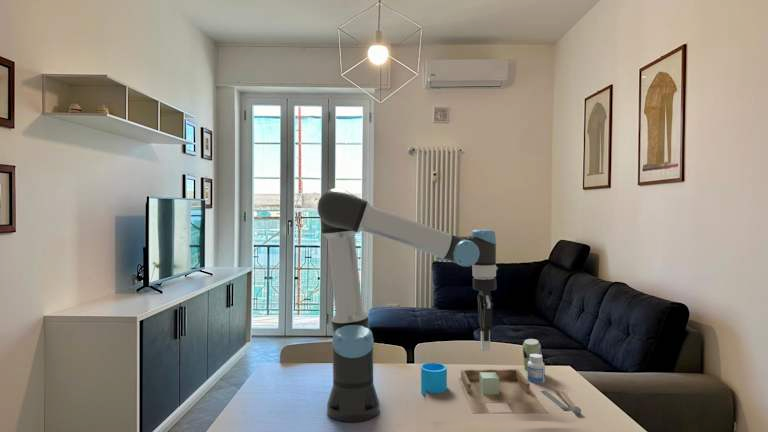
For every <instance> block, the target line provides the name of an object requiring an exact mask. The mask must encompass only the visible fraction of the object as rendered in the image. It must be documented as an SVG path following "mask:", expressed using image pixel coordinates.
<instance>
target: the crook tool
mask: <svg viewBox="0 0 768 432" xmlns="http://www.w3.org/2000/svg"><path fill="white" fill-rule="evenodd" d="M540 393H541V394H543V395H544V396H545V397H546V398H548V399H549V400H550V401H552V402H553V403H554V404H555V405H557V406H558V407H559V408H560V409H561V410H563V412H568V411H571V412H572V413H573V414H574V415H575V416H581V415H582V409H581V408H580V406H576V407H568V406H567V405H566V404H565V403H562V402H561V401H560V400H558V399H557V398H556V397H555V396H553V395H552V394H551V393H550V392H549V391H548V390H540Z"/></svg>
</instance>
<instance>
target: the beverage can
mask: <svg viewBox="0 0 768 432" xmlns="http://www.w3.org/2000/svg"><path fill="white" fill-rule="evenodd" d="M522 352H523V353H522V354H523V367H524V370H525V371H526V372H528V361H530V359H529V358H530V354H540V355H542V346H541V343H540V342H539V340H538V339H535V338H527V339H525V340H523V344H522Z"/></svg>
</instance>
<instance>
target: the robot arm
mask: <svg viewBox="0 0 768 432" xmlns="http://www.w3.org/2000/svg"><path fill="white" fill-rule="evenodd" d="M317 213H318V216H319V219H320V226H321V235H322V236H323V237H325V238H326V239H327V247H328V255H329V264H330V275H331V283H332V291H333V292H332V293H333V301H334V310H335V314H334V315H333V317H332V318H331V326H332V340H331V345H332V386H331V391H330V395H329V397H328V400H327V404H326V405H327V406H326V407H327V409H326V413H327V415H328V416H329V417H330V418H332V419H333V420H336V421H339V422H345V423H356V422H357V423H358V422H359V423H360V422H365V421H368V420H372V419H373V418H375V417H376V416H377V415H378V414H379V413H380V399H379V397H378V394H377V390H376V387H375V384H374V345H375V342H374V341H375V339H374V336H373V335H374V334H373V332H372V330H371V329H370V320H369V314H368V313H367V312H366V311H364V309H363V302H362V301H363V299H362V292H361V291H362V290H361V281H360V274H359V273H360V272H359V264H358V254H357V247H356V234H357V233H360V232H362V231H363V232H365V233H369V234H370V235H374V236H378V237H380V238H383V239H386V240H389V241H391V242H395V243H396V244H401V245H403V246H406V247H409V248H412V249H414V250H418V251H420V252H423V253H427V254H429V255H431V256H435V258H436V259H437V260H438V261H445V262H447V261H449V262H452V263H455V264H457V265H459V266H461V267H471V269H472V277H473V278H472V289H473V290H474V291H478V294H477V296H476V298H477V309H478V310H477V311H478V326H479V332H480V350H481V351H484V352H486V351H491V331H492V329H493V328H492V326H493V325H492V324H493V308H494V302H493V296H492V295H491V292H492V291H496V290H497V278H496V277H497V271H498V268H499V267H498V266H497V237H496V232H495V231H494V230H493V229H473V230H472V231H471V235H469V236H457V235H454V234H452V233H448V232H446V231H442V230H440V229H437V228H434V227H432V226H428V225H426V224H423V223H420V222H417V221H414V220H412V219H408V218H407V217H403V216H400V215H397V214H395V213H392V212H389V211H386V210H385V209H384V210H383V209H381V208H378V207H374V206H373V205H371V203H370V201H368V200H366V199H363V198H361V197H358V196H356V195H354V194H353V193H351V192H349V191H347V190H346V189H343V188H340V187H339V188H337V187H336V188H335V187H334V188H331V189H328V190H326V191H325V192H323V194H322V195H321V196H320V198H319V199H318V202H317Z"/></svg>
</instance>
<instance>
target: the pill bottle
mask: <svg viewBox="0 0 768 432" xmlns="http://www.w3.org/2000/svg"><path fill="white" fill-rule="evenodd" d="M529 359H530V361H528V371H527V381H528V382H529V383H534V384H544V383H545V382H546V380H545V379H546V377H545V373H546V368H545V366H546V365H545V362H543V355H542V354H541V355H540V354H530V358H529Z"/></svg>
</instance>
